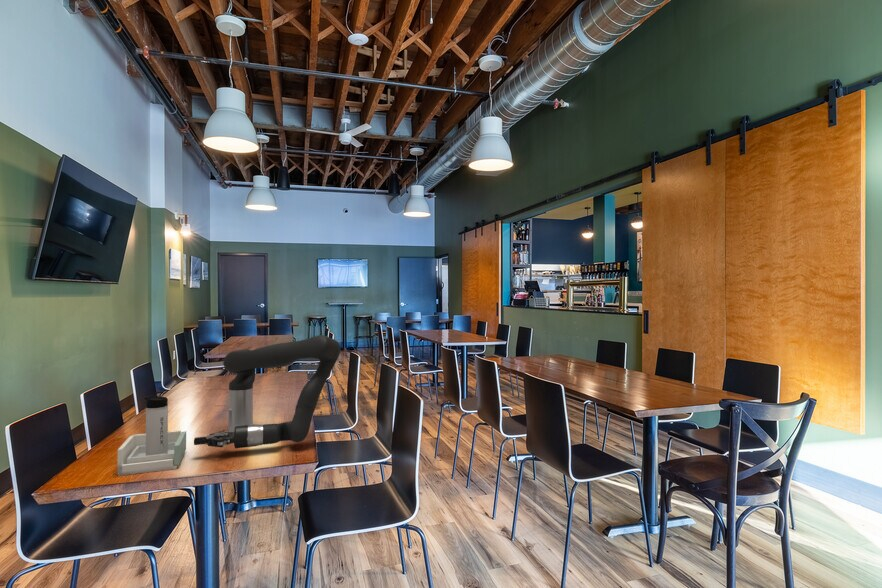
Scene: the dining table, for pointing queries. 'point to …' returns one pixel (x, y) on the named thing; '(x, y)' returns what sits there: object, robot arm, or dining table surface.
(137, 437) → the dock
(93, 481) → the dining table surface
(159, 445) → the travel mug
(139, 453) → the tray
